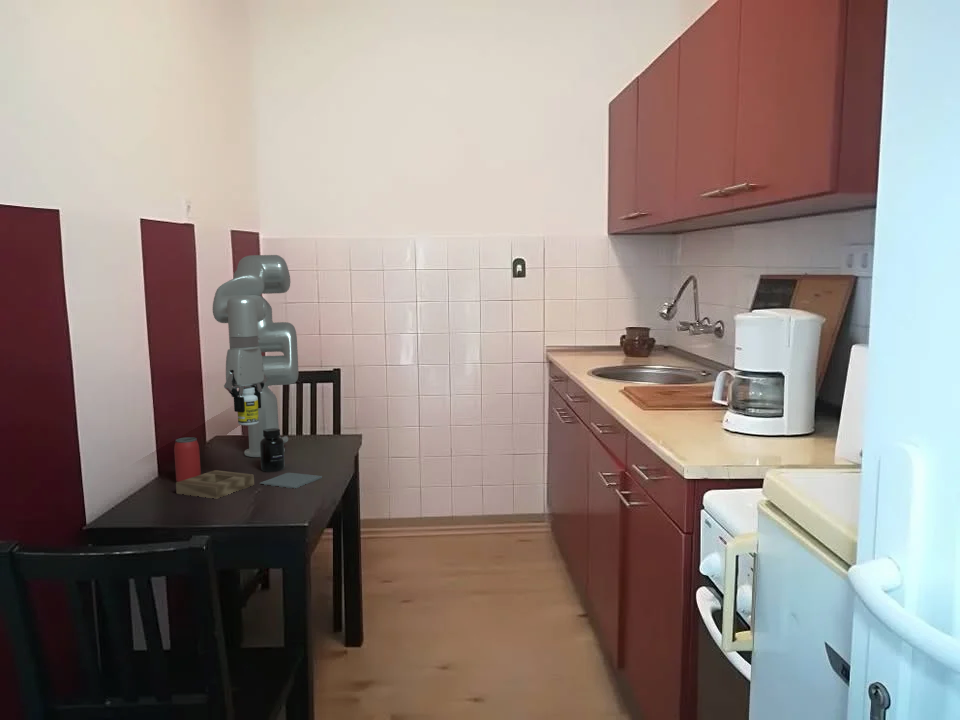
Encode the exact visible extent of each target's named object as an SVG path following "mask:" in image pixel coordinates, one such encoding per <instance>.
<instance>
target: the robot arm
mask: <svg viewBox="0 0 960 720" xmlns="http://www.w3.org/2000/svg"><path fill="white" fill-rule="evenodd" d="M236 268H237V269H236V270H235V272H233V277H232V279H229V280H227V281H225V282H224V283H222V284H221V285H219V286H218V288H217V289H216V290H215V292H214V293H215V294H214V297H213V301H212V315H213V318H214V319H215V321H216V322H218V323H221V324H227V327H228V341H229V342H228V343H229V349H227V351H226V359H225V383H224V385H223V388H224V389H225V390H226V391H227V392H228V393H229V394H230V395H231V397H232V398H233V409H234V410H233V411H234V412H236V413H238V412H245V404H244V397H242V394H243V389H244V387H254V388H255V393H254V395H255V396H257V398H258V415H259V422H258V423H257V424H254V425H247V428H248V429H247V432H248V448H247V449H245V450H244V456H246V457H251V458H261V455H260V441H261V440H262V439H263V438H264V437H263V430H265V429H270V428H277V429H280V426H279V409H278V405H279V404H278V398H277V396H276V394H275V393H274V391H272V390H271V388H270V387H271V386H284V385H285V386H286V385H287V386H288V385H293V384H296V382H297V381H298V379H299V354H298V350H299V349H298V336H297V331H296V328H295V326H294V325H293V323H290V322H286V321H285V322H284V321H282V322H281V321H278V322H275V321H273V308H272V306H271V304H270V303H269V302H268V300H267V299H266V298H264V297H263V296H262V295H265V294H267V295H268V294H286V293H287V292H289V289H290V287H291V274H290V271H289V266H288V264H287V261H286V260H285V259H284V258H283V257H282V256H281V255H277V254H255V255H254V254H252V255H245V256H244V257H242V258H241V259H240V260H239V262H238V264H237V267H236ZM276 352H278V353H279V352H280V353H283V355H262V353H276ZM279 437H280V438H282V439H283V441H284V444H286V443H287V442H288V441H289V437H288V436H287V435H285V436H282V437H281V436H279ZM285 450H286V449H285V447H284V453H285V452H286V451H285Z"/></svg>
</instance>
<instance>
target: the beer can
mask: <svg viewBox="0 0 960 720" xmlns="http://www.w3.org/2000/svg"><path fill="white" fill-rule="evenodd" d="M173 447H174V448H173V452H174V467H175V481H176V482H180V481H183V480H186V479H189V478H192V477H195V476H198V475H201V474H202V471H201V469H202V468H201V452H200V444H199V442H198V440H197V437H194V436H193V437H192V436H191V437H189V436H188V437H187V436H186V437H180V438H177V439H175V443H174V446H173Z"/></svg>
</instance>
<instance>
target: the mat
mask: <svg viewBox="0 0 960 720" xmlns="http://www.w3.org/2000/svg"><path fill="white" fill-rule="evenodd" d="M322 478H323V475H316V474H314V475H313V474H308V473H307V474H306V473H298V472H297V473H296V472H285V473H283V474H279V475H278V476H275V477H274V476H273V477H272V478H269V479H267V480H264V481H260V482H259V485H260V484H264V485H263V486H267V485H271V486H270V487H275V486H279V487H278V488H283V487H286V488H285V489H292V488H294V489H295V488H296V489H298V488H301V487H303V486H305V484H306V485H308V484H311V483H313V482H315V481H318V480H320V479H322ZM300 486H301V487H300Z"/></svg>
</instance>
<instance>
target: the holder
mask: <svg viewBox="0 0 960 720" xmlns="http://www.w3.org/2000/svg"><path fill="white" fill-rule="evenodd" d="M254 476H255V475H254V473H253V474H252V473H251V474H250V473H243V472H233V471H225V470H218V469H215V470H211V471H207V472H206V473H205V472H204V473H201V475H198V476H195V477H192V478H189V479H186V480H183V481H180V482H177V481H176V482H175V489H176V490H175V491H176V493H175V494H177V495H182V494H184V495H185V496H190V495H191V497H197V496H199V497H200V498H205V497H206V499H212V498H214V499H215V500H218V499H221V498H223V496H224V497H226V496H229V495H231V493H232V494H234V493H233V492H235V493H237V492H240V491H243V490H245V489H248V488H250V486H251V487H253V485H254V486H255V477H254ZM242 489H243V490H242ZM239 490H240V491H239ZM236 491H237V492H236ZM228 494H229V495H228ZM220 497H221V498H220Z"/></svg>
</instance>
